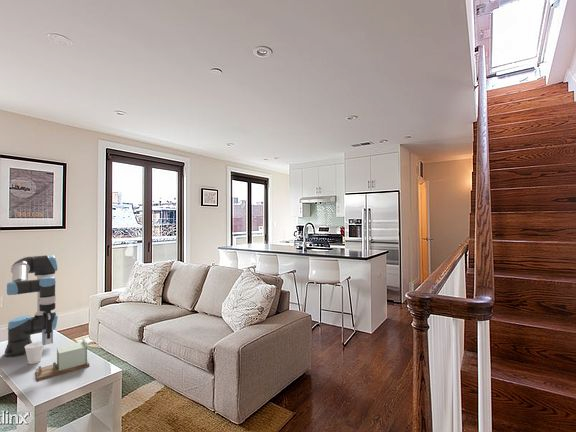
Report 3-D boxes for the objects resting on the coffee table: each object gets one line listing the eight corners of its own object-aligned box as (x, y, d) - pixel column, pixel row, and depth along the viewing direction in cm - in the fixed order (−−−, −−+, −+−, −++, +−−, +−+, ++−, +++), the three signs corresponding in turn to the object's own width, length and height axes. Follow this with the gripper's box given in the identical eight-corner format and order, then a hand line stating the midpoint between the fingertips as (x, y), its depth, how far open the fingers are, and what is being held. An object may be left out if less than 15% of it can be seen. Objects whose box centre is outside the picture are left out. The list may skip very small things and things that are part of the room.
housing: (56, 364, 190) (56, 342, 190) (83, 357, 199) (83, 337, 199) (58, 370, 181) (58, 348, 181) (87, 363, 190) (87, 342, 190)
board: (35, 371, 184) (35, 363, 184) (85, 358, 201) (85, 351, 201) (37, 380, 173) (37, 372, 173) (89, 366, 190) (89, 359, 190)
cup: (33, 366, 190) (33, 348, 190) (20, 365, 192) (20, 347, 192) (48, 359, 200) (48, 342, 200) (36, 357, 202) (36, 341, 202)
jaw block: (51, 341, 186) (51, 327, 186) (52, 343, 183) (52, 329, 183) (42, 343, 183) (42, 329, 183) (43, 345, 180) (43, 331, 180)
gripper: (37, 302, 187) (37, 340, 187) (41, 307, 175) (41, 348, 174) (52, 299, 192) (52, 337, 192) (58, 304, 180) (58, 344, 180)
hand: (47, 342), depth 183 cm, fingers closed on jaw block, 4 cm apart
